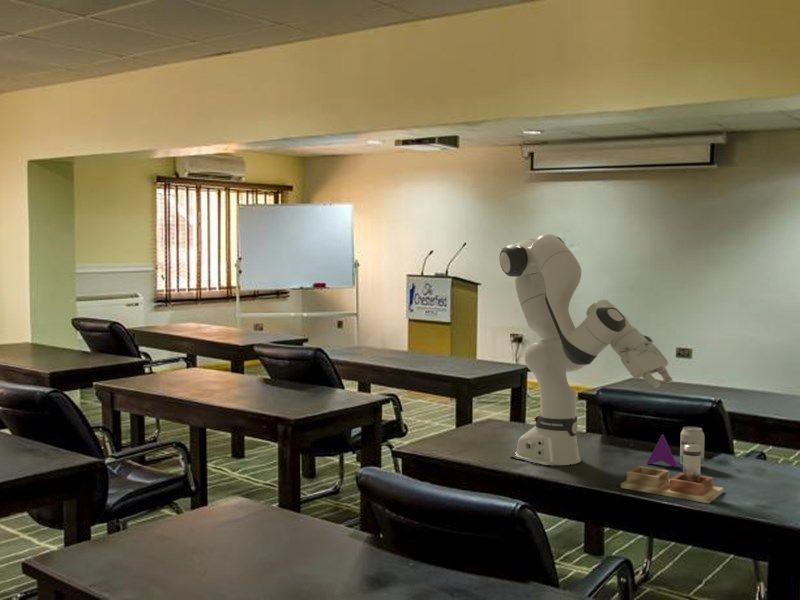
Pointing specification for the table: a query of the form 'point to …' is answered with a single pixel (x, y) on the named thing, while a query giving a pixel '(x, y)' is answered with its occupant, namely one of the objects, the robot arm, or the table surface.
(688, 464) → the white cylinder
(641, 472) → the collar board
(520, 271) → the robot arm
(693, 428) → the beverage can
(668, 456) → the arrowhead
